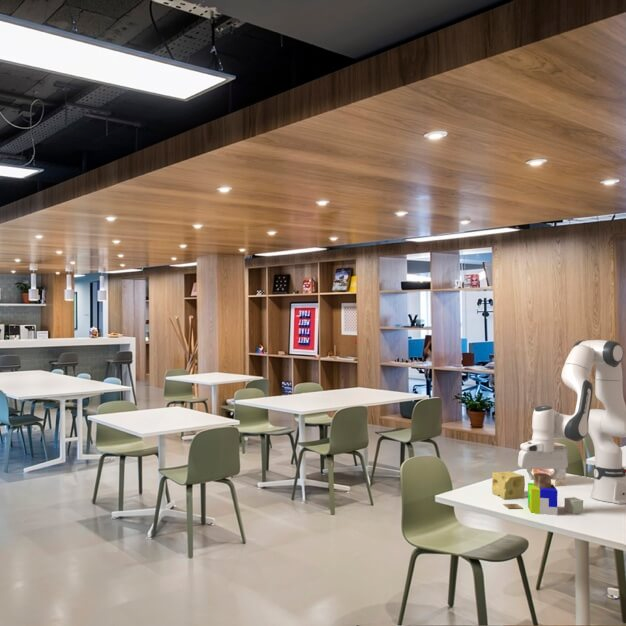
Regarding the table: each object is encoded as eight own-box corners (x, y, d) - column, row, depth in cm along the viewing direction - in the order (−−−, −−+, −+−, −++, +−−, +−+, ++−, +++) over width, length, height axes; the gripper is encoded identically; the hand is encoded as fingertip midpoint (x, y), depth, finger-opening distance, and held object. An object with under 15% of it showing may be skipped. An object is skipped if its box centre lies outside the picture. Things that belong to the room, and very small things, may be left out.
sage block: (573, 509, 262) (574, 497, 262) (583, 512, 257) (583, 500, 257) (564, 510, 260) (564, 498, 260) (573, 513, 255) (573, 501, 255)
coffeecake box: (532, 479, 312) (532, 440, 313) (543, 478, 315) (543, 439, 315) (554, 486, 298) (555, 445, 299) (566, 485, 301) (566, 444, 302)
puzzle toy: (557, 515, 252) (557, 490, 252) (531, 513, 254) (531, 489, 255) (552, 508, 262) (553, 484, 262) (527, 506, 264) (528, 483, 264)
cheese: (504, 500, 274) (504, 477, 274) (490, 493, 284) (491, 471, 284) (524, 498, 277) (525, 475, 277) (510, 492, 287) (510, 470, 287)
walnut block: (545, 485, 261) (545, 473, 261) (551, 488, 256) (551, 476, 256) (533, 485, 261) (533, 473, 261) (539, 488, 256) (539, 476, 256)
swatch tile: (516, 504, 266) (516, 503, 266) (522, 508, 260) (522, 507, 260) (503, 504, 266) (503, 504, 266) (509, 509, 260) (509, 508, 260)
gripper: (563, 444, 263) (563, 477, 263) (516, 444, 261) (516, 477, 261) (571, 447, 257) (570, 481, 256) (523, 447, 255) (522, 481, 254)
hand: (542, 479), depth 258 cm, fingers open, 8 cm apart
